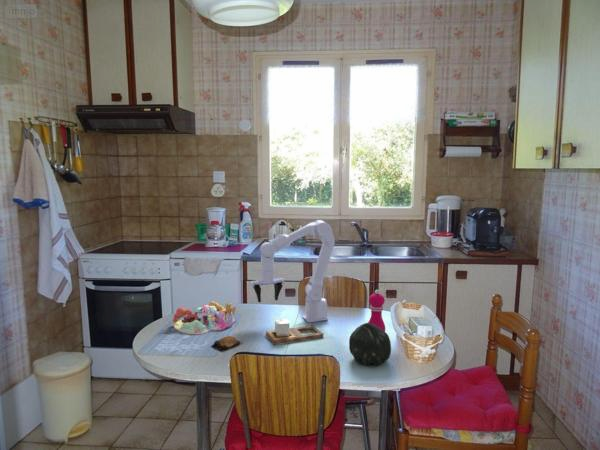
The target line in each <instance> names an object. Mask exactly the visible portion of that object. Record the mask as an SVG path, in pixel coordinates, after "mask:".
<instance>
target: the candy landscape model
mask: <svg viewBox="0 0 600 450" xmlns="http://www.w3.org/2000/svg"><path fill="white" fill-rule="evenodd" d="M236 309H237V306H233V307H232V303H231V302H227V303H225V305H224V306H223V305H221V304H219V303H218V302H215V301H213V300H212V301H210V302H209V303H208V304H205V305H203V306H201V307H197V308H195V311H194V313H193V311H192V309H190V308H188V309H185V308H184V307H178V308H177V309H176V310H175V313H174V315H173V320H172V322H173V328H174V330H176V331H178V332H180V333H182V334H188V335H205V334H208V333H210V332H212V331H215V332H216V331H222V330H225V329H228V328H230V327H232V326H233V325H234V323H235V322H236V319H235V317H234V316H235V313H236ZM180 318H182V319H180Z"/></svg>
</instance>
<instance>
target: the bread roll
mask: <svg viewBox="0 0 600 450" xmlns="http://www.w3.org/2000/svg"><path fill="white" fill-rule="evenodd" d="M242 344H243V341H241V340H239V339H238V338H236V337H235V336H233V335H227V336H224V337H222V338H221V339H219V340H215V341H214V343H213V344H211V345H210V347H211V349H214V350H216V351H218V352H227V351H229V350H231V349H234V348H236V347H238V346H240V345H242Z"/></svg>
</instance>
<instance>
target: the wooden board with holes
mask: <svg viewBox="0 0 600 450" xmlns="http://www.w3.org/2000/svg"><path fill="white" fill-rule="evenodd" d="M305 332H312V333H306V334H303V333H305ZM265 335H266V337H267V338H268V340H270V342H271V343H272V344H273V345H274V346H275V345H276V346H277V345H284V344H289V343H296V342H303V341H304V342H305V341H309V340H316V339H324V333H323V332H322V331H320V330H319V328H317V327H316V326H315V325H313V324H311V325H304V326H296V327H289V336H288V337H282V338H276V337H275V329H274V330H268V331H265Z"/></svg>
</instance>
